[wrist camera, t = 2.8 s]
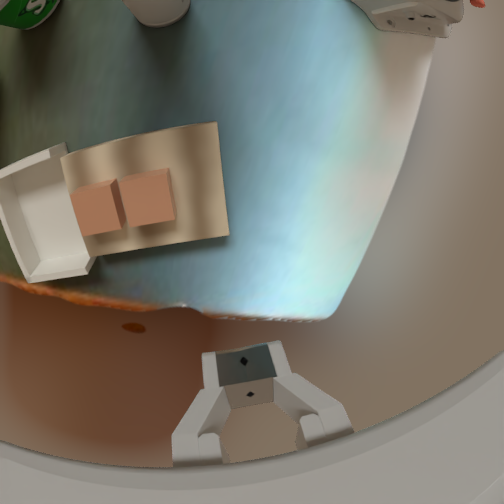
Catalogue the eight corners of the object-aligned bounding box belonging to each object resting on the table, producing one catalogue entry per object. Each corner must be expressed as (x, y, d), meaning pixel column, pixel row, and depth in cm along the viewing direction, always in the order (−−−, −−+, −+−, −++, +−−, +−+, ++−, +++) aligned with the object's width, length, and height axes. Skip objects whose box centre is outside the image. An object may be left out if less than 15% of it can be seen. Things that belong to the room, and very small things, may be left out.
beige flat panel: (215, 120, 28) (217, 122, 26) (227, 224, 35) (229, 235, 33) (70, 152, 26) (60, 157, 24) (96, 245, 33) (89, 257, 31)
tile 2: (169, 167, 27) (166, 173, 25) (176, 210, 30) (174, 219, 28) (124, 176, 27) (118, 182, 25) (134, 218, 29) (129, 227, 27)
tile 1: (116, 178, 27) (109, 184, 25) (126, 219, 29) (121, 229, 27) (78, 187, 26) (69, 195, 24) (89, 226, 29) (82, 236, 27)
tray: (65, 142, 26) (48, 149, 22) (97, 255, 34) (87, 274, 30) (6, 166, 24) (-12, 176, 21) (40, 265, 33) (28, 283, 29)
